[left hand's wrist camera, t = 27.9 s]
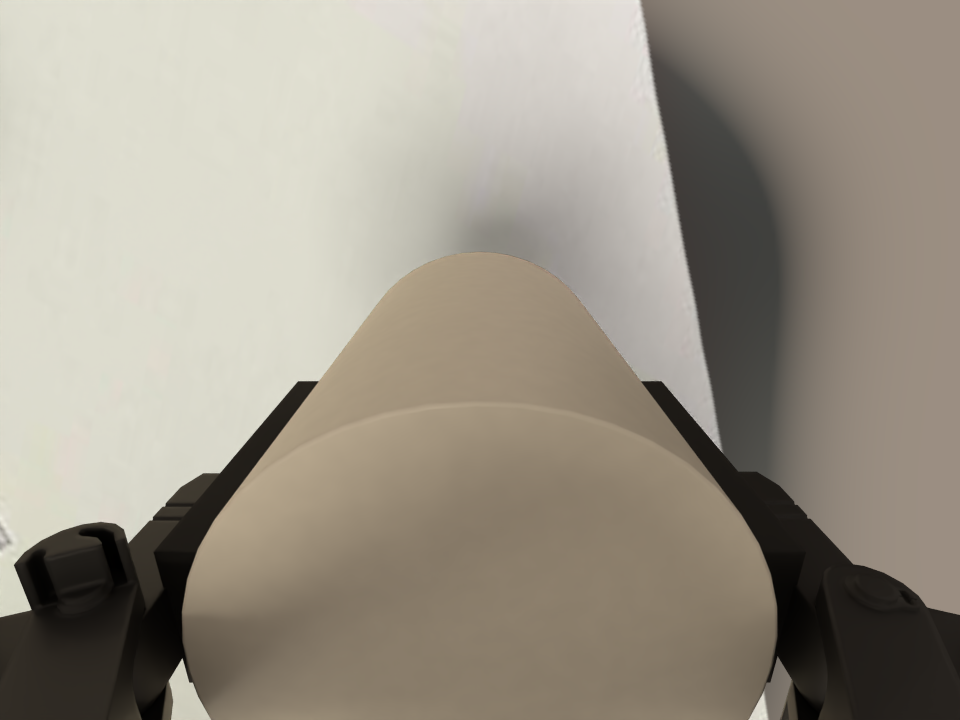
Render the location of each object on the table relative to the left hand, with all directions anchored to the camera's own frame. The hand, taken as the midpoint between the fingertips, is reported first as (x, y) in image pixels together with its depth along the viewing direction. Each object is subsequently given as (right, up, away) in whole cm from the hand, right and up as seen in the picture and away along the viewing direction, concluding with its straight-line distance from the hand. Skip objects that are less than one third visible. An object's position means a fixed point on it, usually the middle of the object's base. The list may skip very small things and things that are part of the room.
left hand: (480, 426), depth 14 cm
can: (0, +1, +3) cm, 4 cm away
